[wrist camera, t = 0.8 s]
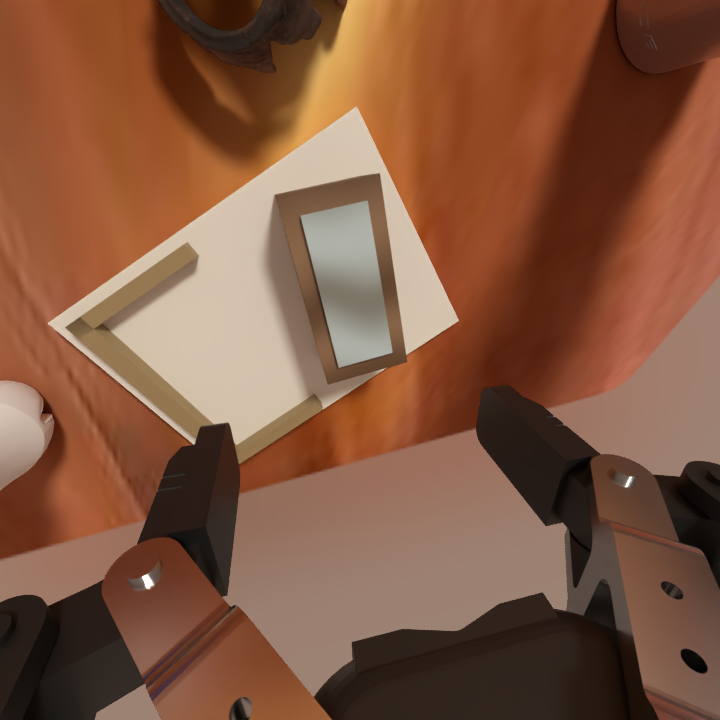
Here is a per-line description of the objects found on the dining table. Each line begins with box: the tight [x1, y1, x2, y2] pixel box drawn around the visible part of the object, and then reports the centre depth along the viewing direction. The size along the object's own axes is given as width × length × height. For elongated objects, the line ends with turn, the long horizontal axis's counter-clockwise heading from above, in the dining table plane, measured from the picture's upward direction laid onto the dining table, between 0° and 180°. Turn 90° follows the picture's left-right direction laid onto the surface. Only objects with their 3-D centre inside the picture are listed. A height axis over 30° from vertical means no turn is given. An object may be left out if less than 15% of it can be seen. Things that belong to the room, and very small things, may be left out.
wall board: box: [48, 107, 459, 464], centre depth 26 cm, size 24×17×2 cm
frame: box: [275, 173, 407, 385], centre depth 24 cm, size 12×6×5 cm, turn 11°
